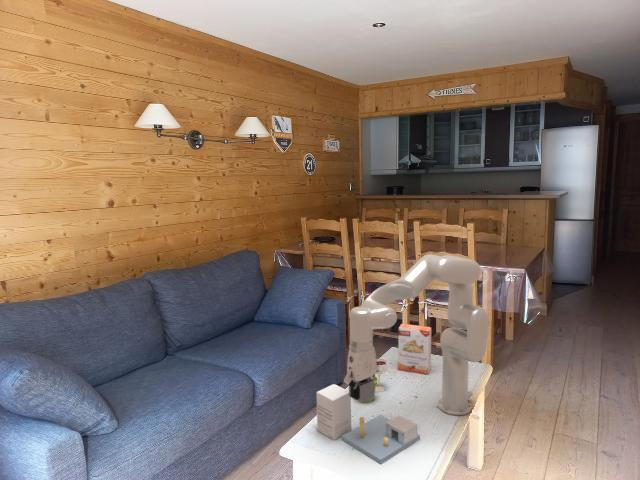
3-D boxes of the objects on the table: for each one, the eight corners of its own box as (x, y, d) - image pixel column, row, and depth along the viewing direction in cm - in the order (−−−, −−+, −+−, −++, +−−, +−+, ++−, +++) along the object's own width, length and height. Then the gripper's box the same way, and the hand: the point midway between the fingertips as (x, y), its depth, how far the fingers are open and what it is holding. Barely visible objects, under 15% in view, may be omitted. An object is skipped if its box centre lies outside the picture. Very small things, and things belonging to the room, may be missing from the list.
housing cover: (398, 427, 163) (399, 415, 163) (417, 436, 157) (417, 424, 156) (385, 434, 159) (385, 422, 158) (404, 445, 153) (404, 432, 152)
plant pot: (363, 390, 193) (363, 371, 192) (382, 397, 188) (382, 377, 186) (350, 399, 186) (349, 379, 185) (369, 406, 180) (369, 386, 179)
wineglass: (386, 393, 191) (386, 365, 189) (370, 391, 192) (370, 364, 190) (387, 385, 197) (387, 359, 196) (372, 384, 199) (371, 358, 197)
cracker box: (397, 370, 212) (397, 327, 208) (400, 365, 217) (401, 322, 214) (428, 375, 206) (429, 330, 203) (430, 369, 212) (431, 326, 208)
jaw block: (373, 396, 156) (374, 380, 155) (361, 402, 152) (361, 385, 151) (361, 390, 160) (361, 374, 159) (348, 396, 156) (348, 379, 155)
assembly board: (380, 418, 172) (380, 397, 171) (419, 439, 158) (420, 416, 157) (341, 440, 159) (341, 416, 158) (380, 464, 146) (380, 439, 144)
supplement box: (334, 420, 171) (333, 382, 169) (352, 430, 165) (351, 391, 162) (316, 430, 165) (315, 391, 163) (333, 440, 159) (333, 400, 156)
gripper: (350, 354, 145) (351, 408, 148) (387, 340, 156) (386, 390, 159) (334, 347, 150) (335, 399, 153) (370, 335, 161) (370, 383, 164)
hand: (361, 394), depth 156 cm, fingers closed on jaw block, 6 cm apart
